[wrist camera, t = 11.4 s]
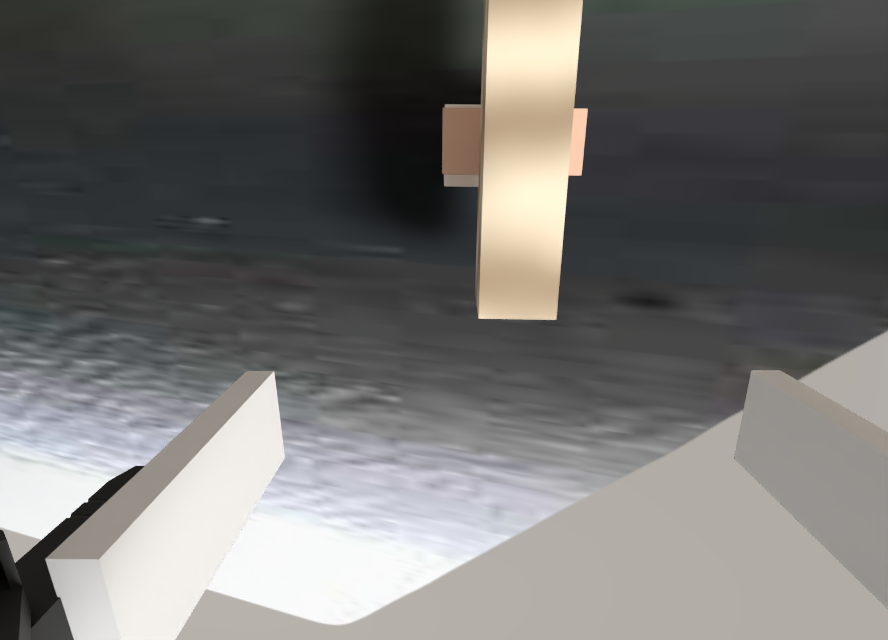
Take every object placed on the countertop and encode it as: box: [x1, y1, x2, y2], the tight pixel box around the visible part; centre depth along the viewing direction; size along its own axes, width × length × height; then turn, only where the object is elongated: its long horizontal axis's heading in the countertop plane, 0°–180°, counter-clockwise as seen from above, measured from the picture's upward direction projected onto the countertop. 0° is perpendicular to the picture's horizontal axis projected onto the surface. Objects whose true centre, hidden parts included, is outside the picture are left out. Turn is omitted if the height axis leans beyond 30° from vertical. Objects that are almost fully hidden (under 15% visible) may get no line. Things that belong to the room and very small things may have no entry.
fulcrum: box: [442, 104, 588, 187], centre depth 29 cm, size 8×5×7 cm, turn 89°
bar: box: [475, 0, 583, 320], centre depth 24 cm, size 18×4×5 cm, turn 179°
